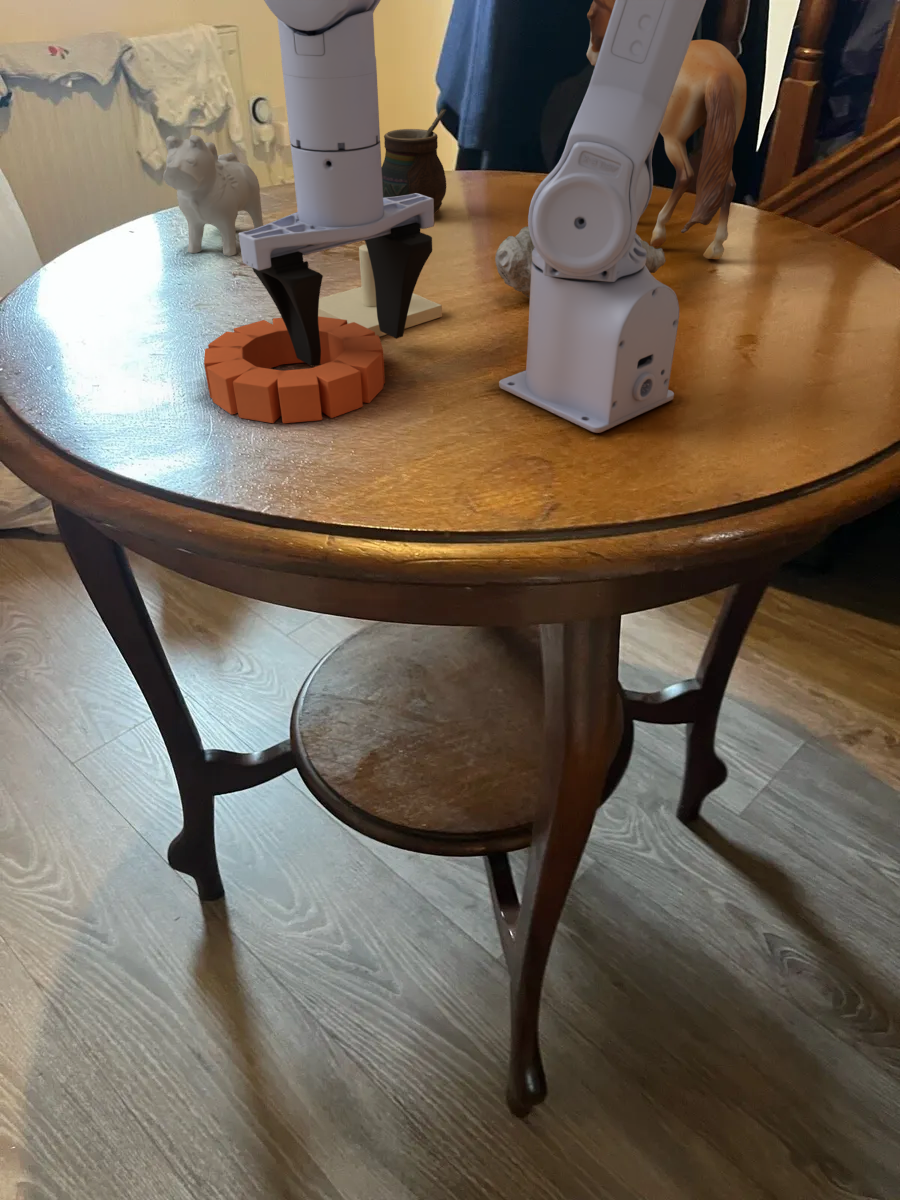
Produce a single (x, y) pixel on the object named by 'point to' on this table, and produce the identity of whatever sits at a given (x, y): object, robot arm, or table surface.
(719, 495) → the table surface
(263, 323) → the ring
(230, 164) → the dog figurine
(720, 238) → the horse figurine
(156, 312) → the table surface
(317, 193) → the robot arm
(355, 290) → the stand
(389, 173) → the mate gourd
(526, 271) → the seashell
